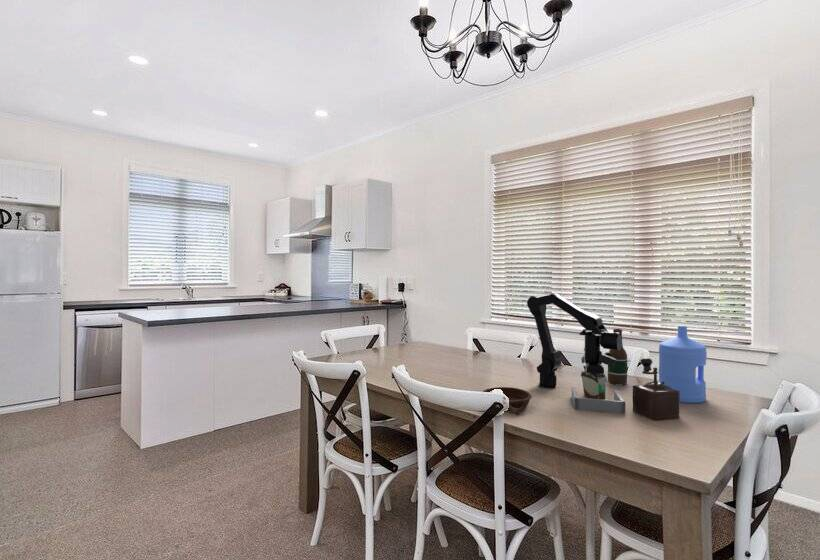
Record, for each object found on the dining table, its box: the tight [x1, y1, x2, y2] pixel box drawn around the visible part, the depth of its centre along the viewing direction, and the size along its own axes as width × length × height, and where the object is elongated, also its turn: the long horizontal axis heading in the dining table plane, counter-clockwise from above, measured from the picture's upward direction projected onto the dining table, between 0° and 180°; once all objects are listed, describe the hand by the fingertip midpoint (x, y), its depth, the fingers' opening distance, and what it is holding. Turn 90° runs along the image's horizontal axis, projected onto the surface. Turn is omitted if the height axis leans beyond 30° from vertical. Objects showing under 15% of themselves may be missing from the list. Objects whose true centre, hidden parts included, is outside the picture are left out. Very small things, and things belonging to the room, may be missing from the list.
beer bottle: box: [607, 328, 628, 386], centre depth 185 cm, size 8×8×24 cm
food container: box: [580, 370, 608, 400], centre depth 160 cm, size 12×6×10 cm, turn 8°
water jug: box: [658, 325, 708, 404], centre depth 163 cm, size 16×16×28 cm
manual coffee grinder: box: [632, 357, 681, 422], centre depth 147 cm, size 16×11×18 cm
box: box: [571, 386, 626, 414], centre depth 155 cm, size 16×15×4 cm
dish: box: [482, 386, 533, 414], centre depth 154 cm, size 18×22×5 cm
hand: (591, 385), depth 167 cm, fingers closed
